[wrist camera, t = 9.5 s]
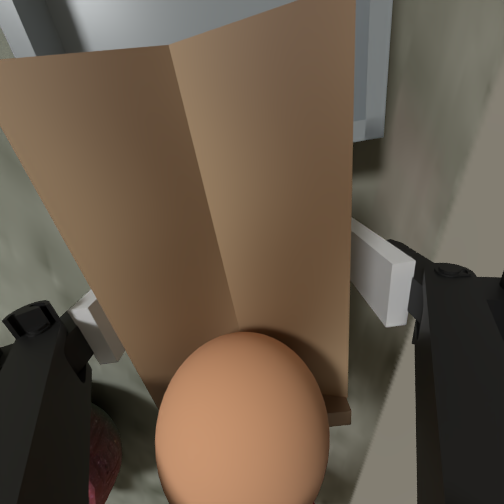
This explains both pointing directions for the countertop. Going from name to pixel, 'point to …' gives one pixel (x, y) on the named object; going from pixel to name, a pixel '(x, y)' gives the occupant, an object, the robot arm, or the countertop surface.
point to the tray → (189, 35)
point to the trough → (204, 184)
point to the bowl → (103, 455)
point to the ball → (242, 426)
